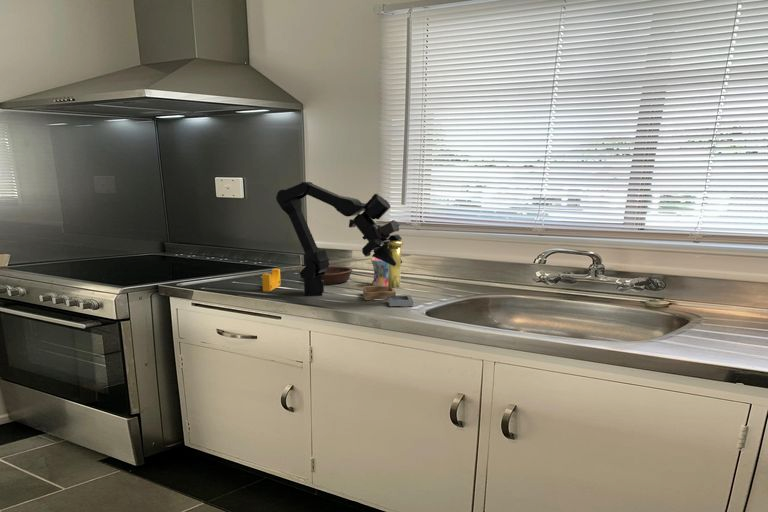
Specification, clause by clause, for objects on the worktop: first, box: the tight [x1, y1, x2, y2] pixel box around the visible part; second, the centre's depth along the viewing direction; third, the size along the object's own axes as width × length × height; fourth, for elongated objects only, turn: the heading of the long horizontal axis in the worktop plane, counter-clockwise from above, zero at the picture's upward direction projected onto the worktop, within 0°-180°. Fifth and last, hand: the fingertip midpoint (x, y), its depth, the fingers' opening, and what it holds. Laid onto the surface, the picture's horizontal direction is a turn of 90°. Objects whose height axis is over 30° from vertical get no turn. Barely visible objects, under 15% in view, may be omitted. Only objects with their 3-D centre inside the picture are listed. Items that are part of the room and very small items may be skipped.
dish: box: [322, 266, 353, 285], centre depth 207 cm, size 18×22×5 cm
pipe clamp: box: [261, 268, 282, 292], centre depth 195 cm, size 12×4×6 cm, turn 172°
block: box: [386, 294, 414, 307], centre depth 169 cm, size 8×8×2 cm
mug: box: [370, 257, 389, 286], centre depth 198 cm, size 12×9×11 cm
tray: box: [362, 285, 397, 301], centre depth 180 cm, size 10×10×3 cm
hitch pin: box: [387, 240, 404, 289], centre depth 170 cm, size 5×5×15 cm
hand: (398, 264), depth 169 cm, fingers closed on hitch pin, 4 cm apart
